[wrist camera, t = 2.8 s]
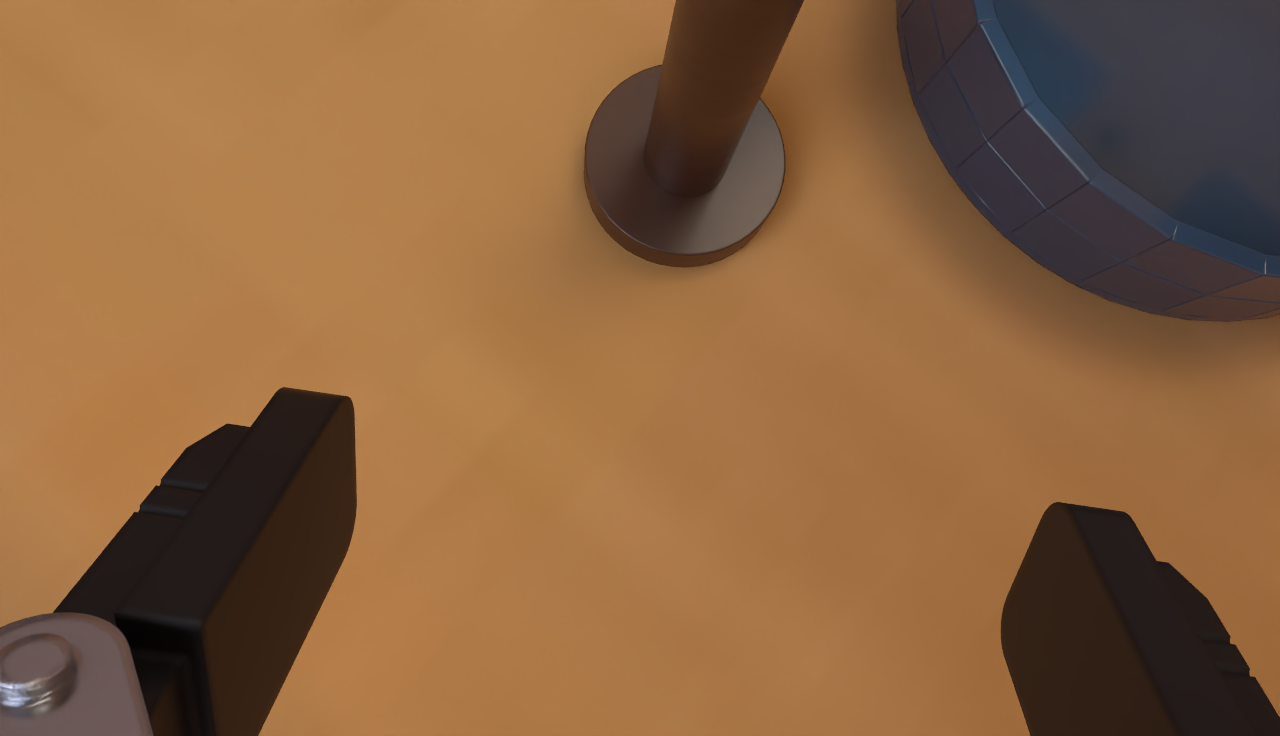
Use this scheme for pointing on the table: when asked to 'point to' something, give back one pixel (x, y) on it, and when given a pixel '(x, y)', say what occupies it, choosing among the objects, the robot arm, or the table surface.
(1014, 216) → the bowl
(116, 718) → the robot arm
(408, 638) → the table surface
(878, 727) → the table surface
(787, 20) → the wall peg
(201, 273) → the table surface
